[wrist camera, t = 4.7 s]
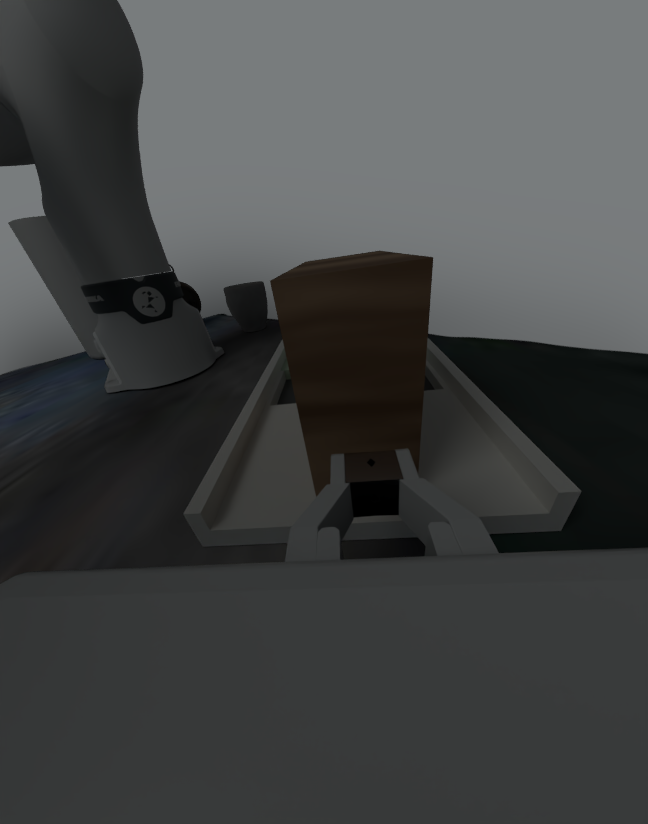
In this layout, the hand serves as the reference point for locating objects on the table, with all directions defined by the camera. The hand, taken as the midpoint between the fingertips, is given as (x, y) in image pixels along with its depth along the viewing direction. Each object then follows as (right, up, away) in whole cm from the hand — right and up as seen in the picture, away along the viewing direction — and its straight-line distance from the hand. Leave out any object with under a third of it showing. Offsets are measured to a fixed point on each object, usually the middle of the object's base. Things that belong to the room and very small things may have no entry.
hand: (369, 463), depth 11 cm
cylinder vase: (-49, +16, +53) cm, 74 cm away
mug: (-20, +22, +55) cm, 62 cm away
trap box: (+1, +4, +20) cm, 20 cm away
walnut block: (+1, +1, +11) cm, 11 cm away
